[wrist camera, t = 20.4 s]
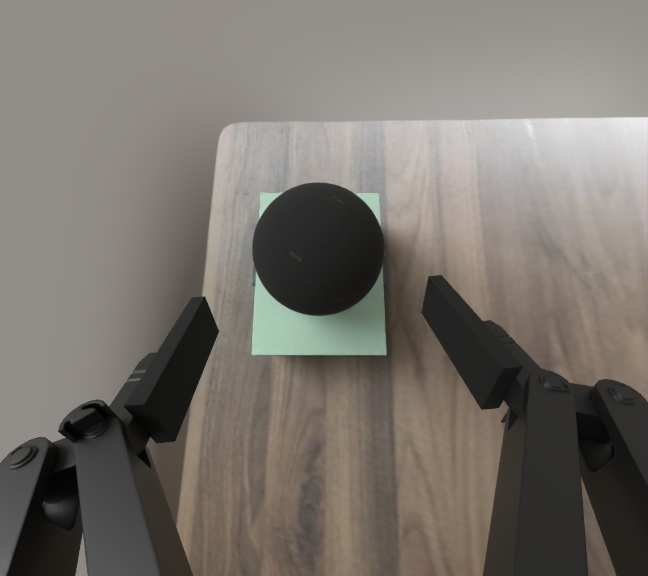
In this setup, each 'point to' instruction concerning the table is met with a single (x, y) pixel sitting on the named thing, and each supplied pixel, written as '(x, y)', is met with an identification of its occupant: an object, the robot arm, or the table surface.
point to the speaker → (318, 249)
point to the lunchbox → (320, 317)
